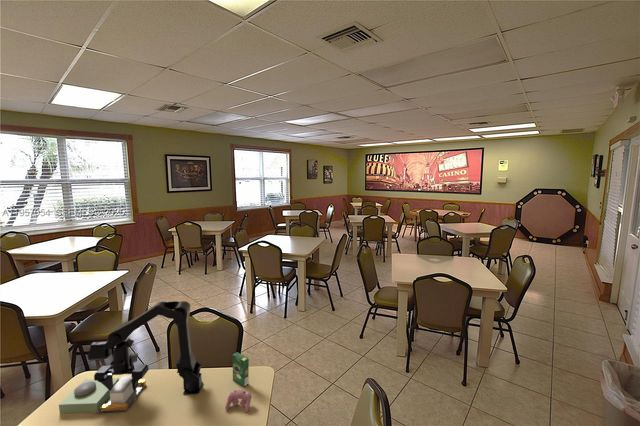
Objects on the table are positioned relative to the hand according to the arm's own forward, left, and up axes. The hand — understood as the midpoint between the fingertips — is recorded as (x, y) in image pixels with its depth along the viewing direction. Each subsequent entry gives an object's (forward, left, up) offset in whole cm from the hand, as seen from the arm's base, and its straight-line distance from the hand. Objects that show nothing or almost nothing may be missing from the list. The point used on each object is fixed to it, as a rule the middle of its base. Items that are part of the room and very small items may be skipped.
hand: (123, 390), depth 121 cm
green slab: (+13, 0, -4) cm, 13 cm away
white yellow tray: (0, 0, -4) cm, 4 cm away
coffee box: (-47, -7, -4) cm, 48 cm away
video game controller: (-49, +7, -4) cm, 49 cm away
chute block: (0, 0, -2) cm, 2 cm away
